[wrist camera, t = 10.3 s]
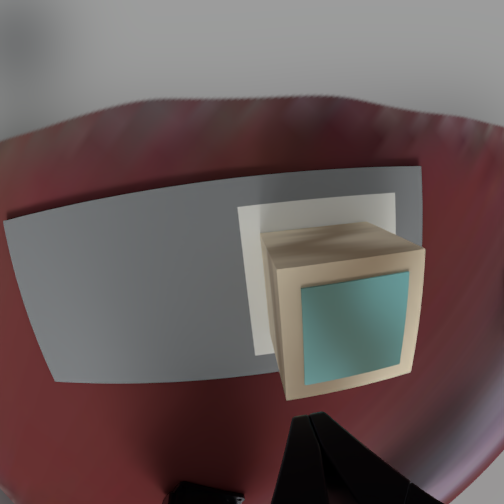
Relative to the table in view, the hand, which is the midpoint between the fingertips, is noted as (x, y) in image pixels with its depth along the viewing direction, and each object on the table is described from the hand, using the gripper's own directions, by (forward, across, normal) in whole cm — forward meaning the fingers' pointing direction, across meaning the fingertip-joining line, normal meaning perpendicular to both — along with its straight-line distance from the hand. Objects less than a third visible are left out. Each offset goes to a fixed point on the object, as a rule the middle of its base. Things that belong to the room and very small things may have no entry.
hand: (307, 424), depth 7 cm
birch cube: (+4, -3, 0) cm, 5 cm away
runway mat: (+11, +3, 0) cm, 11 cm away
